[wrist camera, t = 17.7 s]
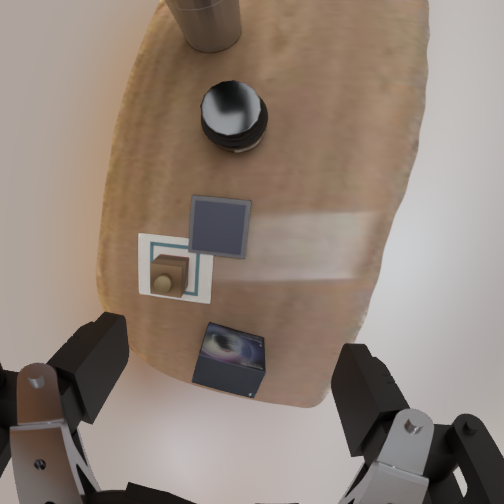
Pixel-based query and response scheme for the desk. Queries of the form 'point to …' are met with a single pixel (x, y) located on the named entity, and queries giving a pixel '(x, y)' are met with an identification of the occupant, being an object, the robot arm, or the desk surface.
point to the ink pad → (219, 226)
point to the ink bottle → (233, 116)
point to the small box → (230, 361)
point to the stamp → (169, 275)
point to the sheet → (175, 246)
